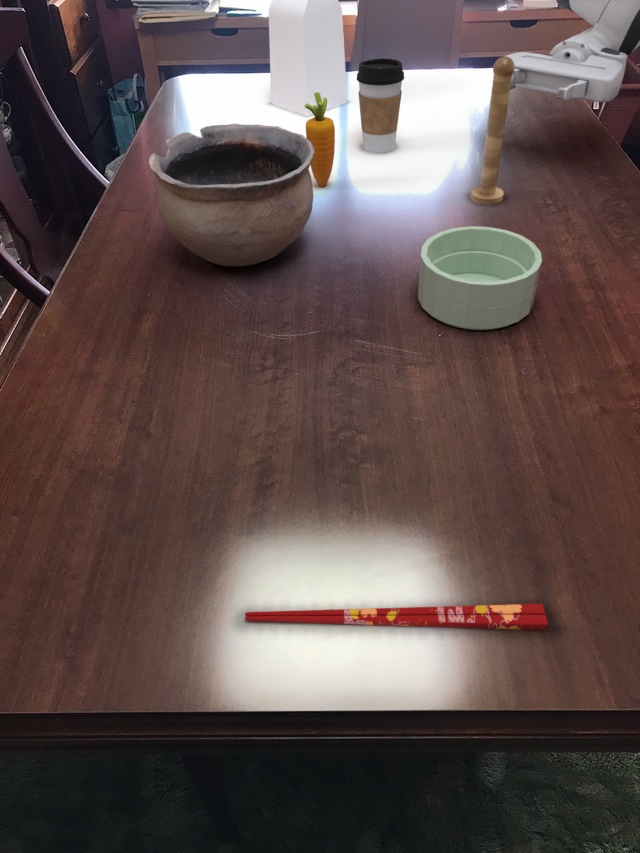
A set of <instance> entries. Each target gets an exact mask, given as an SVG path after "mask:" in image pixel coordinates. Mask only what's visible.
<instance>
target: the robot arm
mask: <svg viewBox="0 0 640 853" xmlns="http://www.w3.org/2000/svg"><path fill="white" fill-rule="evenodd" d="M555 1H556V3H557V4H558V5H559V6H562V7H563V8H565V9H567V10H569V11H570V12H572V13H573V14H574V13H575V14H576V15H578V17H580V18H582V19H583V20H585V22H587V23H589V25H591V26H592V27H589V28H588V29H585V30H583V31H582V32H580V33H578V34H576V35H573V36H571V37H569V38H566V39H564V40H563V41H561V42H559V43H557V44H556V45H555V46H554V47H553V48H552V49H551V50H550V51H549V53H548V55H547V54H540V53H535V52H528V51H519V52H513V53H510V54H507V55H505V56H506V57H509V58H511V59H512V60H513V62H514V65H515V69H514V72H513V74H512V80H511V87H510V91H512V90H513V89H516V88H522V89H526V90H533V91H537V92H543V93H547V94H548V93H549V94H554V95H556V99H557V100H561V101H568V100H570V99H579V100H585V101H590V102H594V103H595V102H596V103H609V102H611V101H612V100H614V99H615V98H616V97H617V96H618V95H619V92H620V89H621V87H622V84H623V79H624V76H625V72H626V66H627V59H628V57H629V56H631V55H633V54H635V53H636V52H637V51H638V50H639V49H640V0H555Z"/></svg>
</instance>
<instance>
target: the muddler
mask: <svg viewBox="0 0 640 853" xmlns="http://www.w3.org/2000/svg"><path fill="white" fill-rule="evenodd" d="M506 56H507V55H504V56H501V57H499V58H497V59H496V61H495V62H494V63H493V67H492V73H493V77H492V84H491V85H492V86H491V93H490V94H491V95H490V101H489V111H488V116H487V117H488V118H487V124H486V134H485V142H484V149H483V150H484V151H483V158H482V167H481V175H480V182H479V185H478V186H475V187H473V188H472V189H471V191H470V200H472V202H474V203H477V204H481V205H496V204H499V203H501V202H503V199H504V194H505V192H504V190H503V189H502V188H500V187H498V186H497V185H498V178H499V172H500V166H501V165H500V163H501V156H502V150H503V142H504V136H505V128H506V122H507V115H508V114H507V113H508V108H509V101H510V100H509V99H510V93H511V90H510V87H511V80H512V74H513V72H514V69H515V65H514V62H513V60H512V59H511V58H509V57H506Z"/></svg>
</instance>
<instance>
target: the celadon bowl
mask: <svg viewBox="0 0 640 853" xmlns="http://www.w3.org/2000/svg"><path fill="white" fill-rule="evenodd" d="M542 264H543V258H542V251H541V250H540V249H539V247H537V245H536V244H535V243H534V242H533V241H531V240H530V239H528V238H526V237H525V236H523V235H522V234H519V233H516V232H514V231H510V230H507V229H503V228H497V227H492V226H478V225H477V226H475V225H469V226H461V227H452V228H449V229H446V230H442V231H440V232H438V233H435V234H434V235H432V236H429V237H428V238H427V239H426V241H425V242H424V243H423V244H422V245H421V250H420V259H419V273H418V287H417V289H418V290H417V300H418V302H419V304H420V306H421V308H422V309H423V310H424V311H425V312H426V313H428V314H429V315H430V316H431V317H433V318H434V319H436V320H437V321H439V322H441V323H444V324H445V325H448V326H451V327H455V328H460V329H463V330H472V331H488V330H489V331H491V330H497V329H501V328H504V327H508V326H510V325H513V324H515V323H518V322H521V320H522V319H524V318H525V317H527V316H528V315H529V314H530V312H531V310H532V309H533V306H534V303H535V298H536V293H537V288H538V284H539V278H540V272H541V269H542Z"/></svg>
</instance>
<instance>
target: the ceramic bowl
mask: <svg viewBox="0 0 640 853" xmlns="http://www.w3.org/2000/svg"><path fill="white" fill-rule="evenodd" d="M199 133H200V136H198V135H195V134H193V133H192V132H181V133H178V134H177V135H175V136H174V137H171V138H168V139H166V140H165V145H166V155H165V157H163V156H160V155H158V154H157V153H156V152H153V153H151V154H150V156H149V159H148V165H149V166H150V169H151V171H152V172H153V174H154V175H155V177H156V180H157V181H158V182H157V200H158V201H157V202H158V208H159V211H160V215H161V217H162V219H163V222H164V224H165V226H166V227H167V228H168V230H169V231H170V232H171V233H172V235H173V236H174V238H175V239H176V240H177V241H178V242H179V243H180V244H181V245H183V246H184V247H185V248H186V249H187V250H189V252H191V253H193V254H194V255H196V256H198V257H199V258H200V259H201V258H202V259H203V260H204V261H206V262H209V263H212V264H214V265H218V266H222V267H246V266H252V265H256V264H257V265H258V264H259V263H262V262H266V261H268V260H270V259H272V258H274V257H276V256H278V255H279V254H281V253H282V252H283V251H284V250H286V249H287V247H289V246H290V245H291V244H292V243H293V242H294V241H296V240H297V239H298V238H299V236H300V235H301V234H302V232H303V231H304V229H305V227H306V225H307V223H308V221H309V219H310V217H311V214H312V211H313V205H314V204H313V203H314V187H313V180H312V175H311V173H310V172H311V171H310V168H311V165H310V164H311V162H312V159H313V156H314V152H315V151H314V148H313V146H312V143H311V142H310V141H308V140H307V139H306V136H304V135H303V134H301V133H296V132H292V131H290V130H288V129H286V128H282V127H280V126H277V125H266V124H265V125H264V124H239V123H229V124H215V125H207V126H204V127H201V128H200V130H199Z"/></svg>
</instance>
